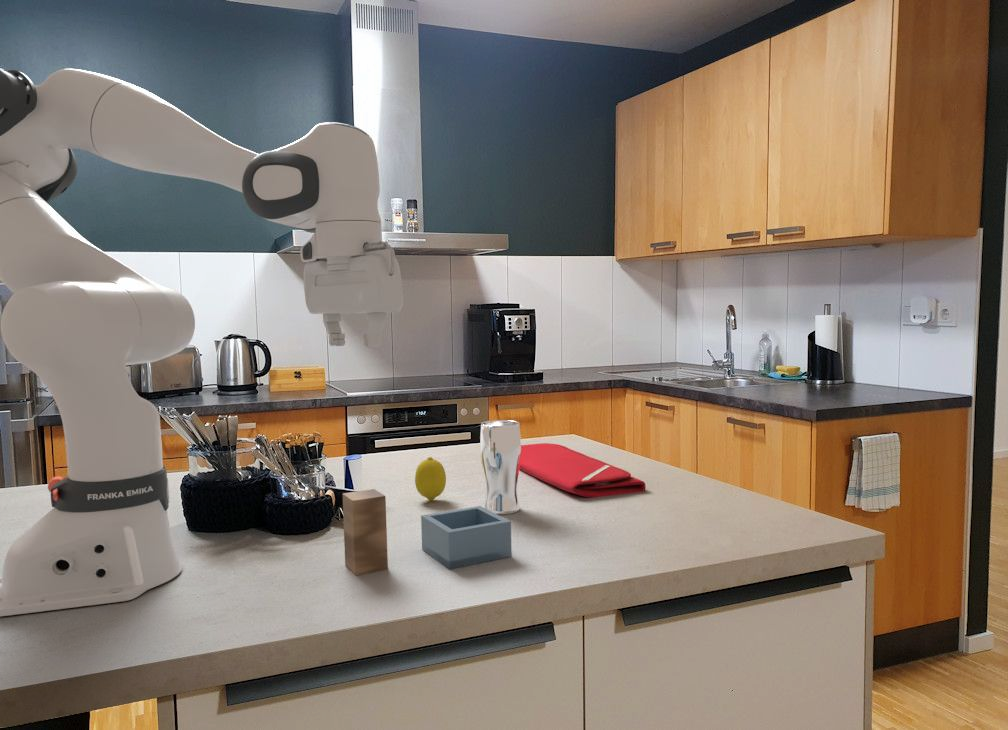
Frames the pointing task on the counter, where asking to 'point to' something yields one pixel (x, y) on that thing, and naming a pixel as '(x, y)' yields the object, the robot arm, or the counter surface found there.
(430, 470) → the lemon
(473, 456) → the counter surface
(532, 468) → the red folded towel
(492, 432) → the beer glass
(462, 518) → the open box
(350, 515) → the walnut block
